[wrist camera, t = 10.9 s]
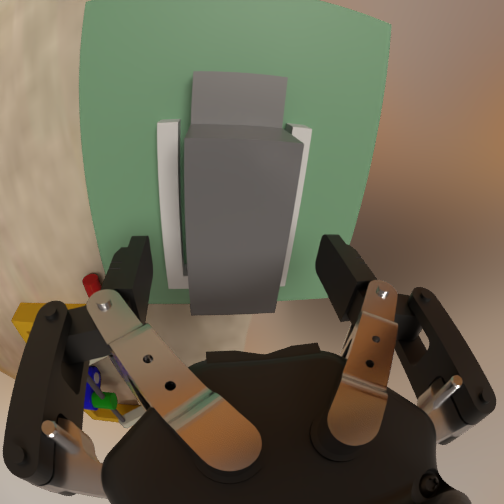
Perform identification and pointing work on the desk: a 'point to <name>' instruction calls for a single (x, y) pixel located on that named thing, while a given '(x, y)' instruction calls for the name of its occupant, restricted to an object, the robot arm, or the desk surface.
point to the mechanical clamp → (95, 400)
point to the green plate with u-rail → (179, 118)
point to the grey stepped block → (238, 192)
